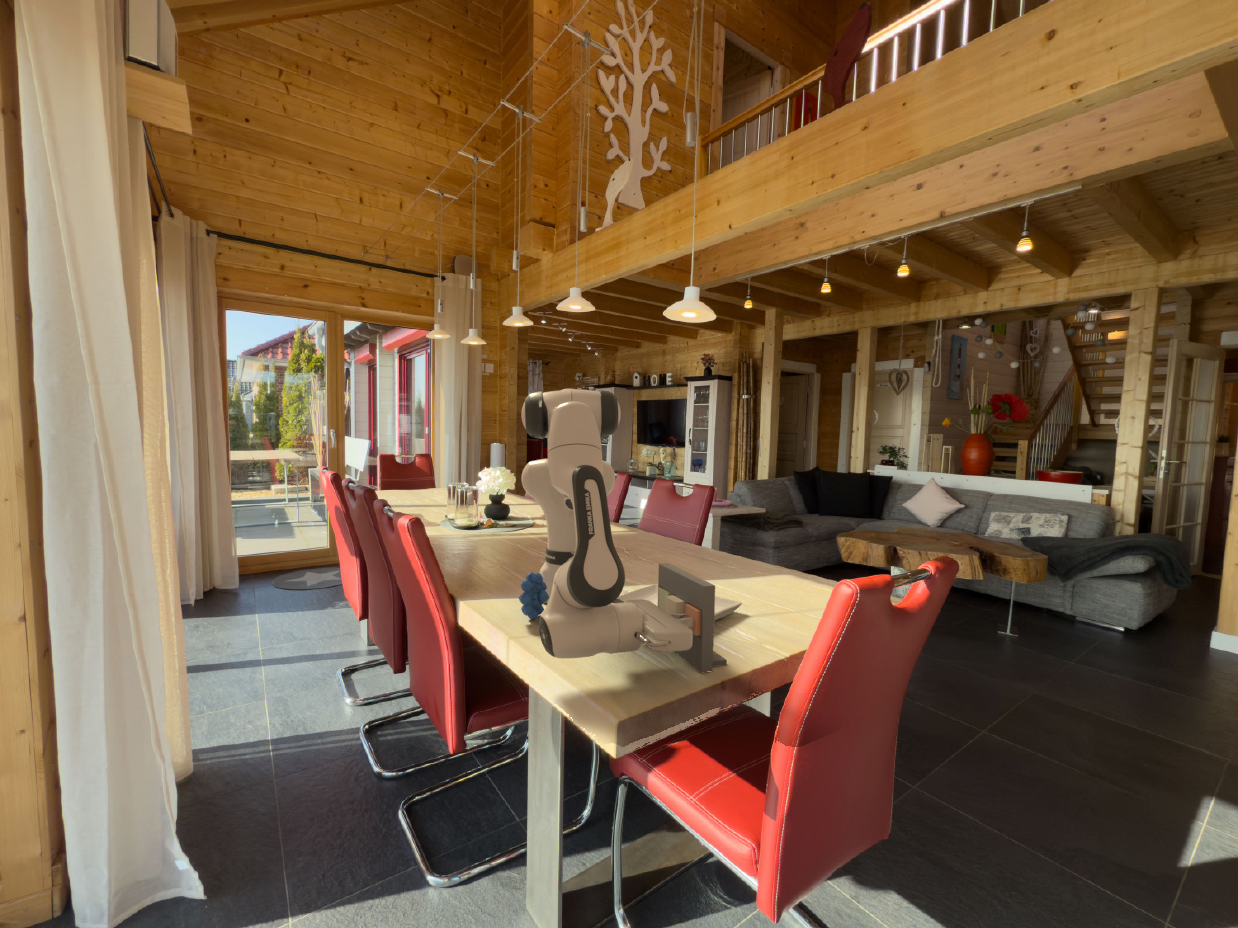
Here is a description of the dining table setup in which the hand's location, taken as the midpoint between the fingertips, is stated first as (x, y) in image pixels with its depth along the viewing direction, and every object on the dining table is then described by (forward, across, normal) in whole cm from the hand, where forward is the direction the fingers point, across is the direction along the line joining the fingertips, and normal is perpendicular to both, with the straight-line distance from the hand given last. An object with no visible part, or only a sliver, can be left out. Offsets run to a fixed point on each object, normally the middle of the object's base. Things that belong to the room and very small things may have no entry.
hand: (690, 619), depth 110 cm
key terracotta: (+2, 0, +2) cm, 3 cm away
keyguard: (+4, +7, +10) cm, 12 cm away
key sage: (+2, +13, +2) cm, 14 cm away
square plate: (+12, +31, +10) cm, 34 cm away
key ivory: (+1, +7, +2) cm, 7 cm away
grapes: (-22, +37, +10) cm, 44 cm away
